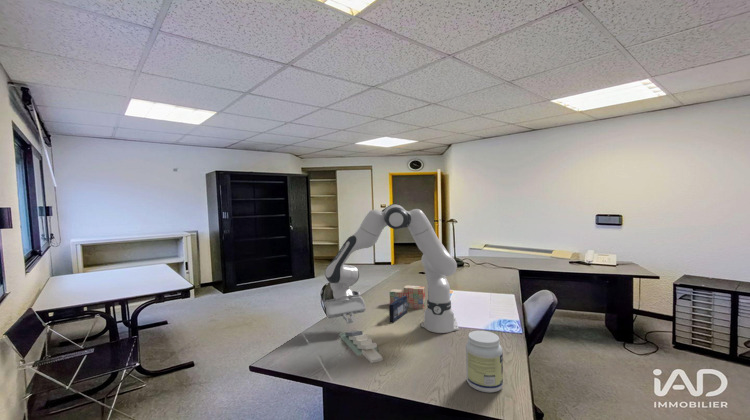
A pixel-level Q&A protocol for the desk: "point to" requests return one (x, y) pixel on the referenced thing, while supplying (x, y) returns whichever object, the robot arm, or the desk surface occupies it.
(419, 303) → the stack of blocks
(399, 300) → the vhs cassette tape
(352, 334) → the domino
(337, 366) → the desk surface
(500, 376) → the supplement tub
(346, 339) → the mat
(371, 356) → the domino
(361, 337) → the domino
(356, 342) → the domino
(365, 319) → the desk surface
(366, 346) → the domino
